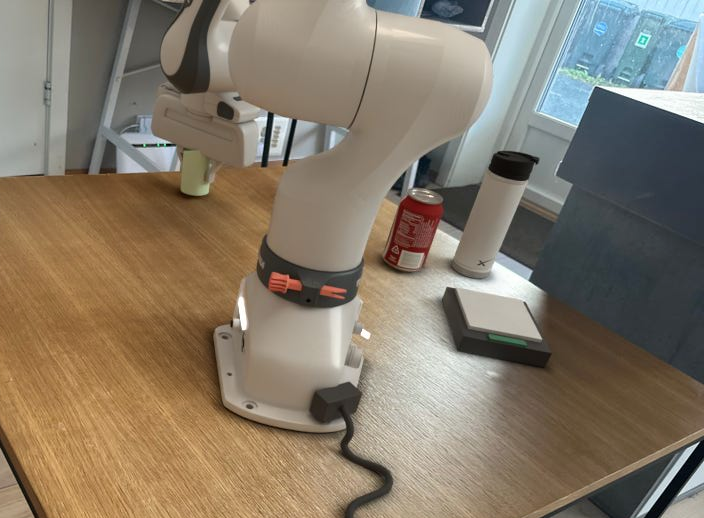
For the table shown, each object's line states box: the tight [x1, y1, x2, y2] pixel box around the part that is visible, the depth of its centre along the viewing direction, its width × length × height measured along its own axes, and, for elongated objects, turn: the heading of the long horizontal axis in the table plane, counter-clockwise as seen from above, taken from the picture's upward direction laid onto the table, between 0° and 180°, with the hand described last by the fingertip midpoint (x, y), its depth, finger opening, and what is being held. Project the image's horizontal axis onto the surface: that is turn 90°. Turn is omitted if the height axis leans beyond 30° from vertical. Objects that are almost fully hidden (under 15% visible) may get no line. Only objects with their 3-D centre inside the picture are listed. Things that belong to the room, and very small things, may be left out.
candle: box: [180, 149, 212, 197], centre depth 122 cm, size 5×5×8 cm
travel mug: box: [451, 150, 540, 279], centre depth 111 cm, size 6×7×20 cm
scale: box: [441, 286, 553, 368], centre depth 100 cm, size 14×12×3 cm
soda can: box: [382, 187, 444, 273], centre depth 111 cm, size 7×7×12 cm
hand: (196, 177), depth 123 cm, fingers closed on candle, 3 cm apart
